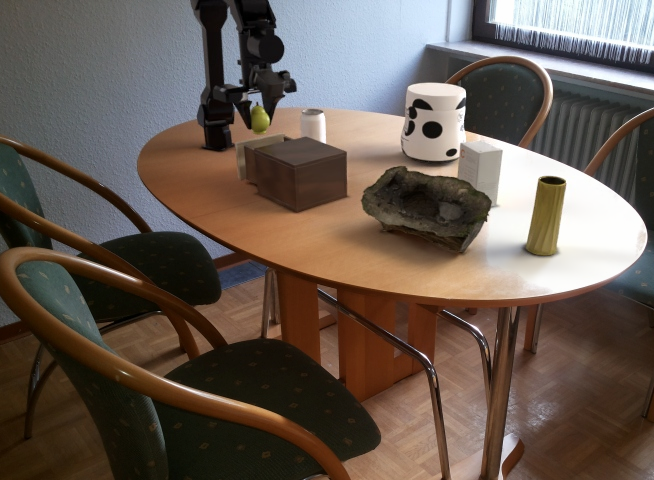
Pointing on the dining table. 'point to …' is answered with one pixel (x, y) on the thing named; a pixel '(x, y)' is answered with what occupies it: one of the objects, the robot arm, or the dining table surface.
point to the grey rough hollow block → (428, 206)
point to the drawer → (253, 154)
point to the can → (313, 124)
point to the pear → (259, 120)
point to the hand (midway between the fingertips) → (259, 127)
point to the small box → (481, 167)
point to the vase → (546, 215)
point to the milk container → (433, 122)
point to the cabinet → (301, 173)
